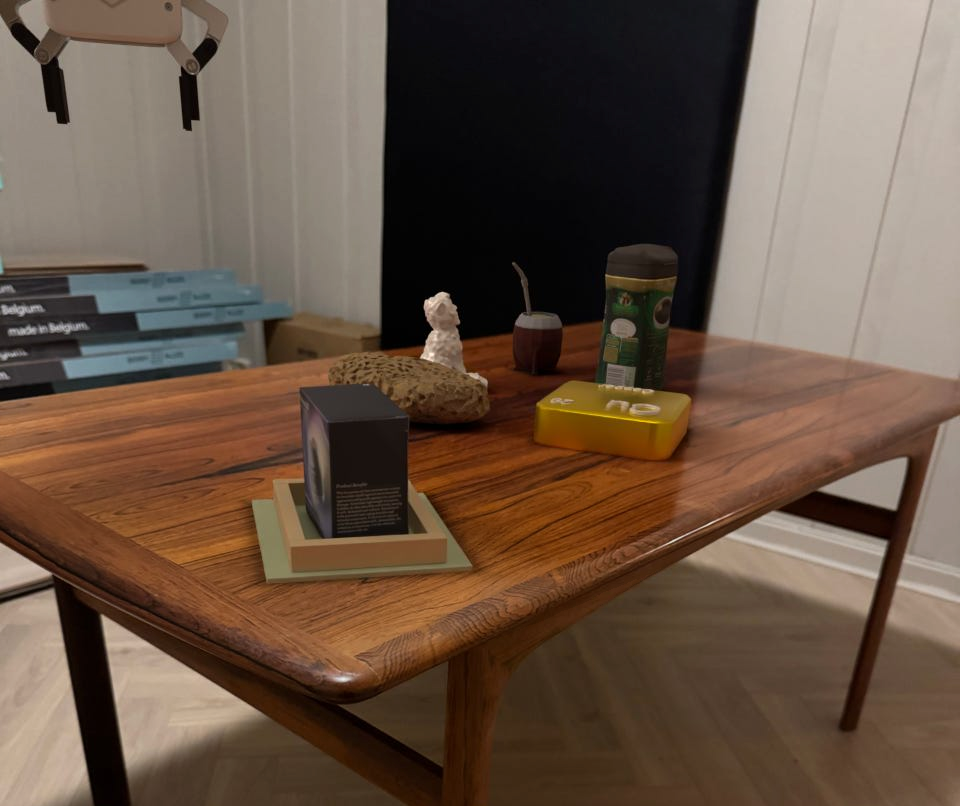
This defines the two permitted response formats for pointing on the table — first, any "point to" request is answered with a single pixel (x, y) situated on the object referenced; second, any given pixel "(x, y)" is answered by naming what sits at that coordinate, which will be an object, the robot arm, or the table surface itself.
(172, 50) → the robot arm
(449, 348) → the white creature statuette
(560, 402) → the element tile
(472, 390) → the sponge
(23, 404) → the table surface
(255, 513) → the tan shallow square tray
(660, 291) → the coffee jar
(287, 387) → the table surface
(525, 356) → the mate gourd
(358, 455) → the small box
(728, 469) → the table surface
